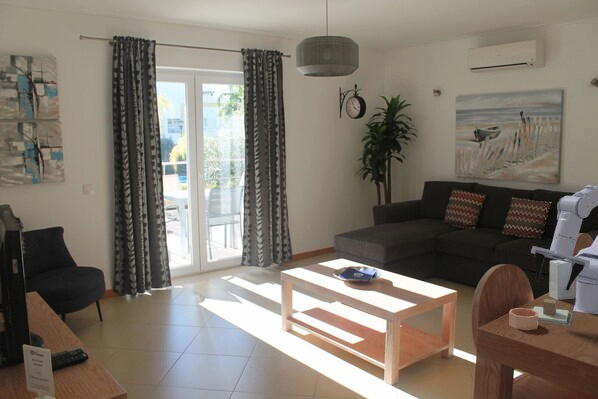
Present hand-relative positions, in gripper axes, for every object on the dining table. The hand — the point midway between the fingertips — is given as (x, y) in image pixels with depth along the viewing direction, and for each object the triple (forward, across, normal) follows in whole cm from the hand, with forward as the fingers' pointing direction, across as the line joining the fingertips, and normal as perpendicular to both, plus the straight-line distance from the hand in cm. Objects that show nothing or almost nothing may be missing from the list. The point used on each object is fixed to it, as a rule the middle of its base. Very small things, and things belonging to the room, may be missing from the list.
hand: (551, 285), depth 143 cm
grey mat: (+9, +1, +7) cm, 11 cm away
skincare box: (+2, +2, +25) cm, 25 cm away
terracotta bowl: (+13, -4, -2) cm, 14 cm away
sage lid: (+8, +1, +7) cm, 11 cm away
